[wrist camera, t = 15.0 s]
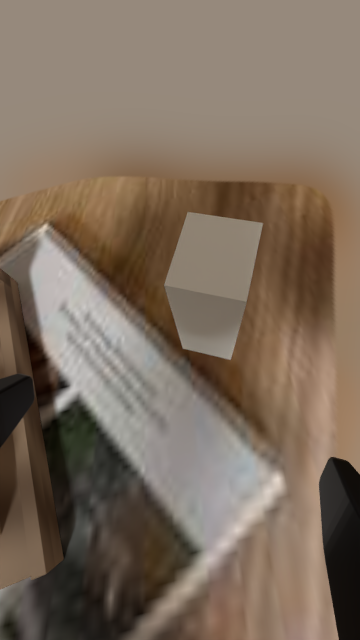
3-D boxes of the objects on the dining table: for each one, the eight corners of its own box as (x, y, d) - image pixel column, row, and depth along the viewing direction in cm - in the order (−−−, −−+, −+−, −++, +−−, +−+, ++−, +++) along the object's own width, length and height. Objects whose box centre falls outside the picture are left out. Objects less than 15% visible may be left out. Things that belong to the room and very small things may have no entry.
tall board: (230, 359, 20) (246, 301, 12) (182, 348, 21) (164, 285, 12) (241, 309, 22) (263, 223, 13) (196, 300, 22) (187, 211, 14)
